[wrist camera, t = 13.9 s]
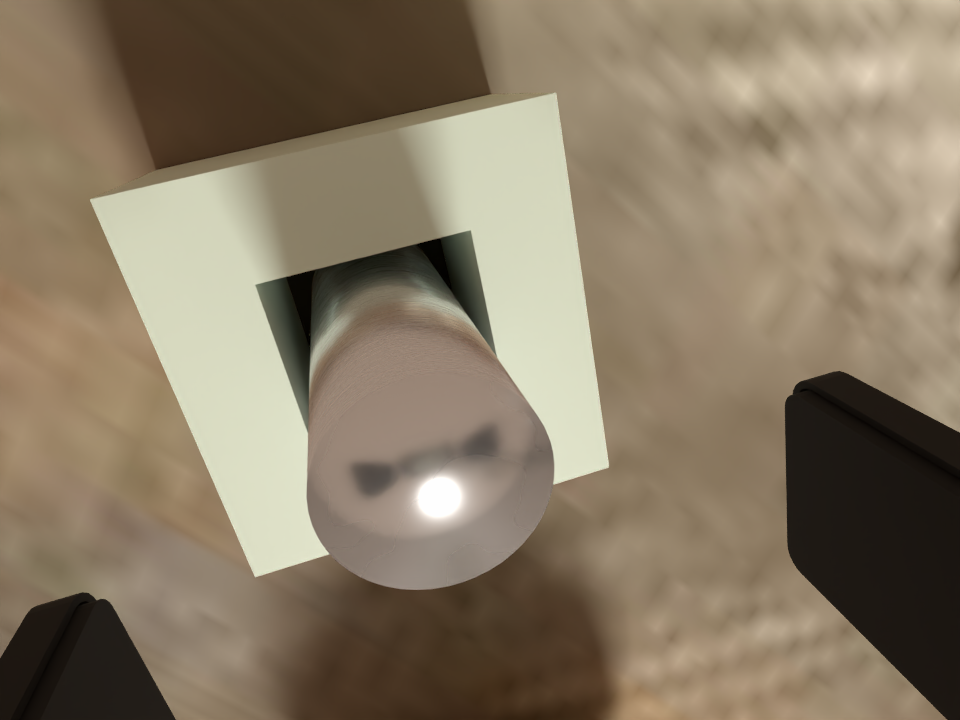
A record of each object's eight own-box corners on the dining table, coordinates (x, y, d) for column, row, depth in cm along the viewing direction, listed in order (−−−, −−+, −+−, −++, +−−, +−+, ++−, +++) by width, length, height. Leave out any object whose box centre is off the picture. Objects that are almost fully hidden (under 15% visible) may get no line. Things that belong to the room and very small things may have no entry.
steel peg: (420, 214, 21) (533, 341, 10) (447, 330, 22) (570, 547, 12) (295, 246, 20) (269, 415, 9) (332, 362, 22) (347, 619, 11)
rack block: (491, 94, 20) (555, 92, 15) (543, 383, 24) (609, 467, 19) (155, 170, 19) (89, 199, 13) (270, 462, 23) (255, 577, 17)
